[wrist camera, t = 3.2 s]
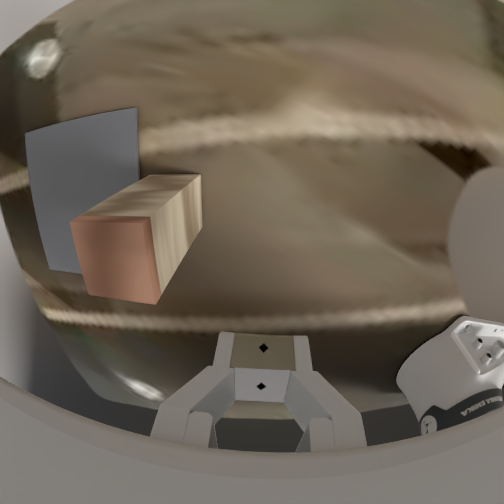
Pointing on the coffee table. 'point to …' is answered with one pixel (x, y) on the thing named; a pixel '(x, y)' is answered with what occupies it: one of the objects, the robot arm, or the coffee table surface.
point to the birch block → (138, 237)
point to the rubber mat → (78, 174)
